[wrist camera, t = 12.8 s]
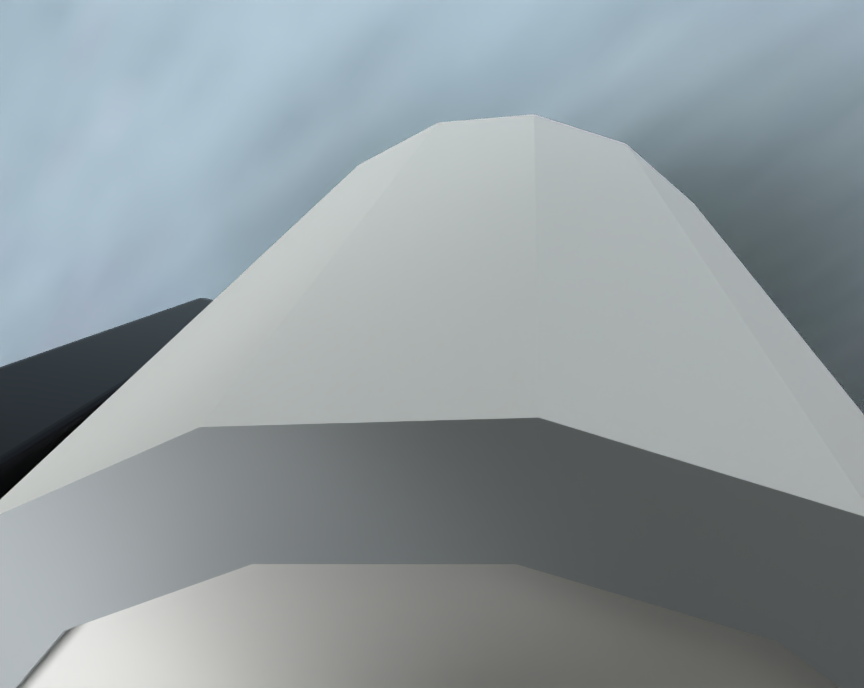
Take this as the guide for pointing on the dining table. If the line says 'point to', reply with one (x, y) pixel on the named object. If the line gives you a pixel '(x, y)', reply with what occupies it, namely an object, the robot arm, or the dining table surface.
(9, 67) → the dining table surface
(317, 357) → the shot glass
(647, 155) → the dining table surface
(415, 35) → the dining table surface
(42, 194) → the dining table surface
